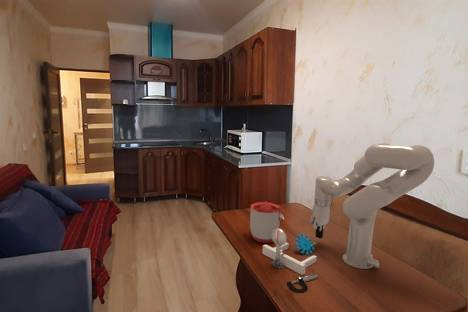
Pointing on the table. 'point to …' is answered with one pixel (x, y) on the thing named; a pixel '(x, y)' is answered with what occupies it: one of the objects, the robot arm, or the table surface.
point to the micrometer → (301, 283)
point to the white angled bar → (289, 259)
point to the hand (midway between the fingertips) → (318, 237)
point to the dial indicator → (278, 246)
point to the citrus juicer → (264, 220)
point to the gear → (305, 244)
